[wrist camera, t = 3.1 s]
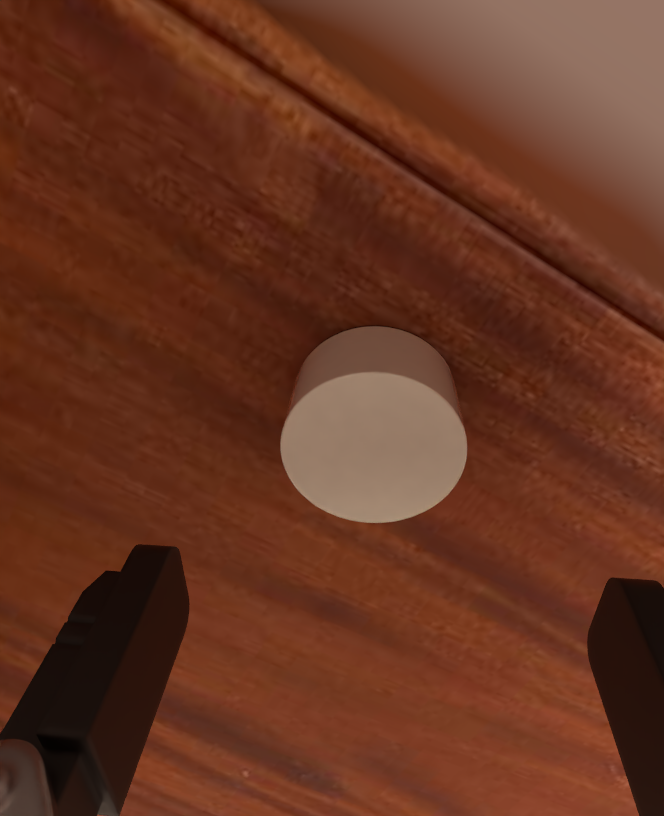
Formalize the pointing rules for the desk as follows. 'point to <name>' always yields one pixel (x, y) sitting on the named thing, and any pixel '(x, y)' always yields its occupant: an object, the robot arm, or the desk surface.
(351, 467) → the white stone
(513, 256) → the desk surface
